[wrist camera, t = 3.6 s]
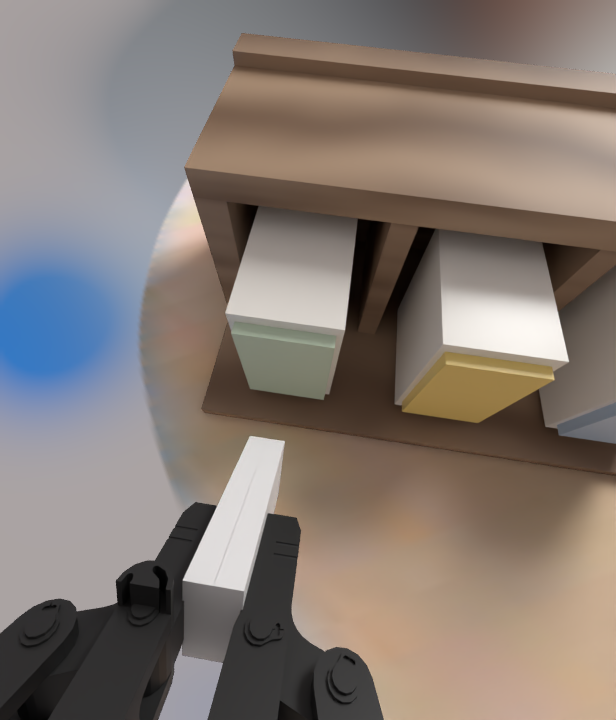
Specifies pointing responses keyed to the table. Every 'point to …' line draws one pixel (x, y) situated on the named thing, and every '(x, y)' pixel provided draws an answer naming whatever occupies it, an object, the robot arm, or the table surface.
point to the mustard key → (476, 327)
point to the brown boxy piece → (407, 208)
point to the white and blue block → (586, 367)
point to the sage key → (292, 300)
